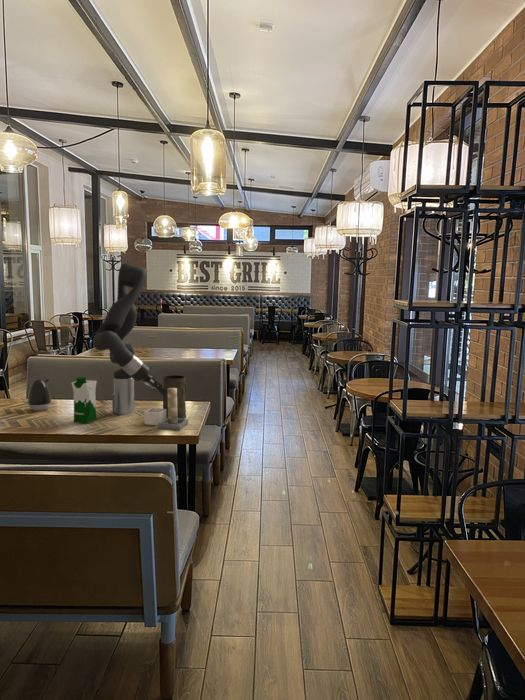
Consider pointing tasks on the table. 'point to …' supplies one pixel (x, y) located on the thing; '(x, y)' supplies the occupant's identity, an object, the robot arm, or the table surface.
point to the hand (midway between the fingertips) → (161, 392)
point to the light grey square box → (154, 416)
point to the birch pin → (172, 406)
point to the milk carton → (84, 400)
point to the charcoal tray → (165, 425)
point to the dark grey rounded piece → (39, 395)
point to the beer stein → (180, 384)
